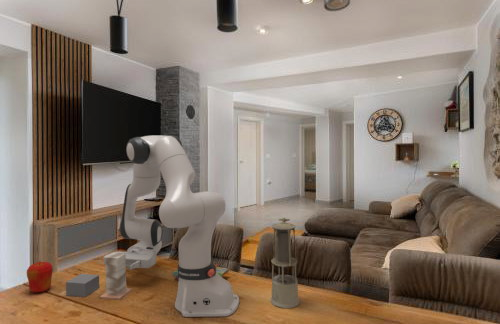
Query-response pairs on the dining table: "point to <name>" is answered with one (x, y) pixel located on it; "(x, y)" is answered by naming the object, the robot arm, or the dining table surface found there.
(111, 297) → the terracotta tile
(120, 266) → the cream block
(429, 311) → the dining table surface
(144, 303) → the dining table surface
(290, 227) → the lamp
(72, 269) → the dining table surface
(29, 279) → the apple
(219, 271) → the puzzle game
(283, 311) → the dining table surface
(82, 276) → the charcoal plinth
